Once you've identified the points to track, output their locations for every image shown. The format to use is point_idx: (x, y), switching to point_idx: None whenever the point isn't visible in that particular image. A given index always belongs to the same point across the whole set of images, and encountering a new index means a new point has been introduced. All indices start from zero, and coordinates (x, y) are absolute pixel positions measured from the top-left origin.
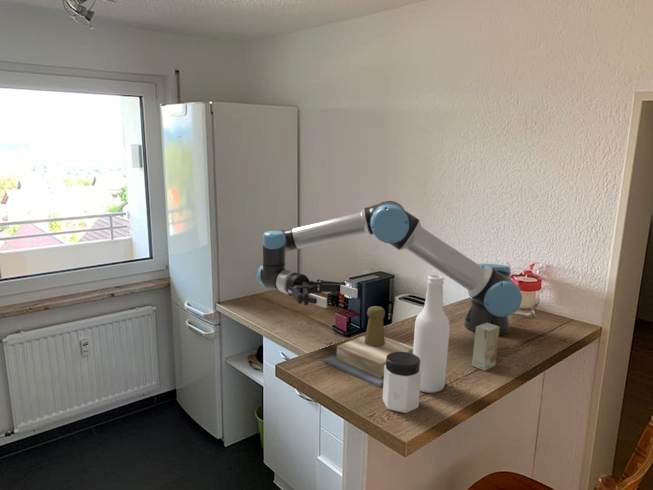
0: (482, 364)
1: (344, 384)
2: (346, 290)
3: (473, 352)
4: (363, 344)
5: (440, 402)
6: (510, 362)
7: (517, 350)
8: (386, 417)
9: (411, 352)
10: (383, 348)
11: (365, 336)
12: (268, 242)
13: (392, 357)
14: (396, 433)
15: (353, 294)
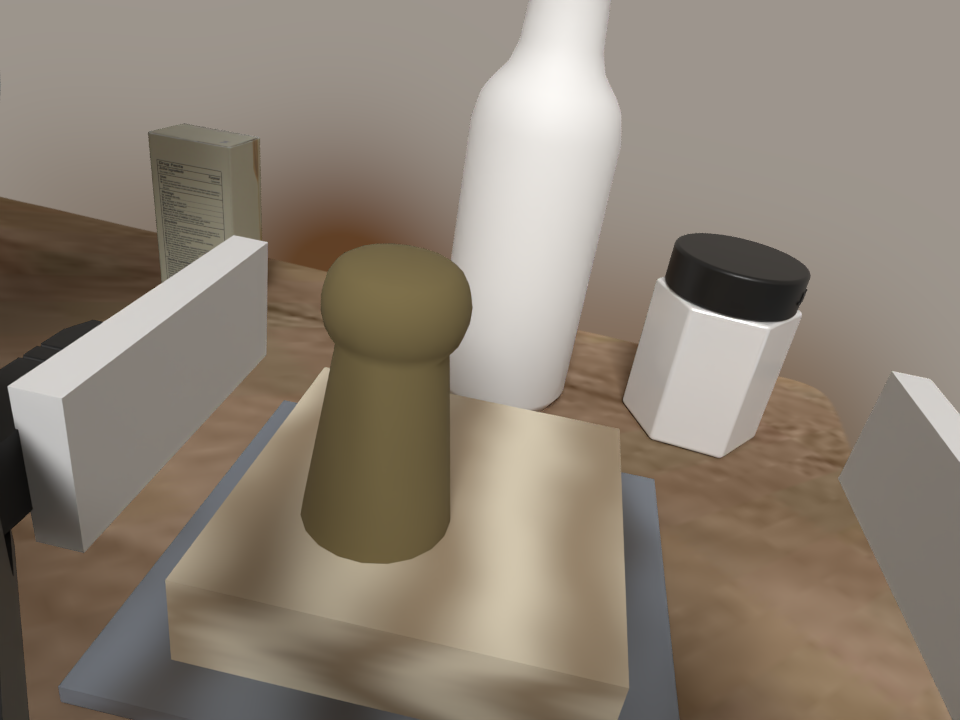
0: None
1: (774, 604)
2: (169, 377)
3: None
4: (453, 552)
5: (574, 355)
6: (142, 257)
7: (3, 241)
8: (791, 431)
9: None
10: None
11: (414, 517)
12: None
13: (775, 271)
14: (822, 403)
15: (248, 335)
